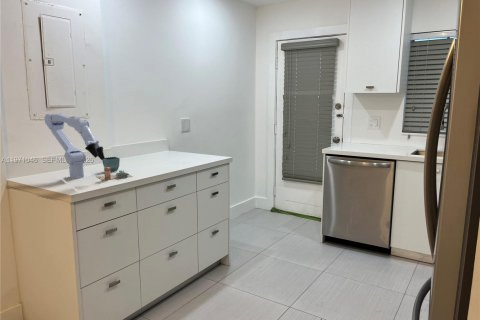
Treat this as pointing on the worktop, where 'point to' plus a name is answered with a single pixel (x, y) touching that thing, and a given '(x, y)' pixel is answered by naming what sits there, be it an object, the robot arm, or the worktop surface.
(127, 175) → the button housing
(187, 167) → the worktop surface
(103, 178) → the clipboard
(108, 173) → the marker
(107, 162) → the flower pot
